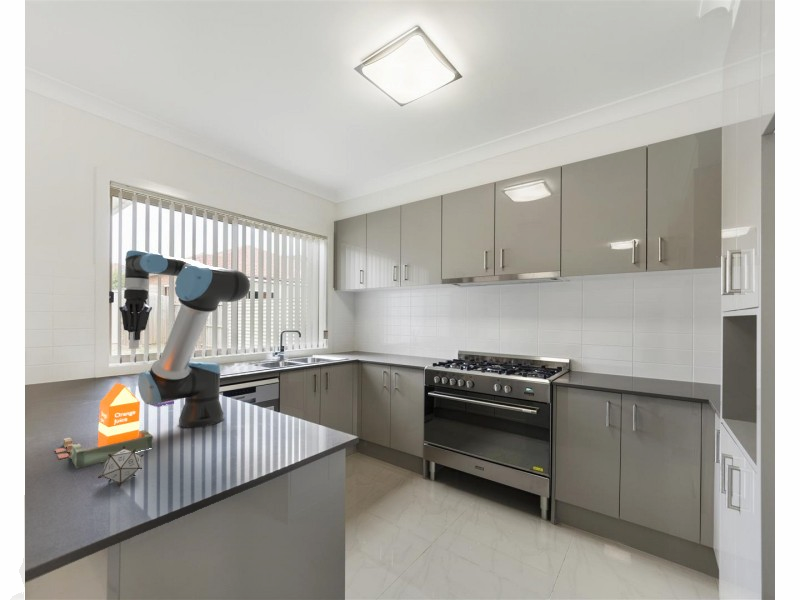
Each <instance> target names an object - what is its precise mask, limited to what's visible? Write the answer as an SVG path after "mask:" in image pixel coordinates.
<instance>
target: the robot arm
mask: <svg viewBox="0 0 800 600" xmlns="http://www.w3.org/2000/svg"><path fill="white" fill-rule="evenodd" d="M125 254H126V255H125V269H124V271H125V272H124V286H123V287H124V288H125V289H124V291H123V298H124V299H125V303H124V305H122V306H119V311H120V312H121V313H120V314H121V319H122V326H123V331H127V332H128V341H129V342H128V350H130V349H131V350H134V349H140V347H139V346H140V340H141V332H143V331H146V329H147V326H148V325H147V324H148V321H149V317H150V313H151V311H152V310H153V307H152V306H149V305H148V304H147V300H148V298H149V291H148V289H149V282H150V281H149V280H150V279H149V278H150V276H149V275H151V274H152V275H162V276H164V275H165V276H173V277H176V279H175V283H174V284H175V287H174V292H175V295H176V296H177V298H178V302H179V303H180V304H181V305H180V308H179V310H178V312H177V315H176V318H175V320H174V323H173V325H172V328H171V330H170V333H169V335H168V338H167V341H166V344H165V346H164V348H163V351H162V353H161V356H160V358H159V359H157V360H155V361H154V362H152V364H151V367H150V370H144V371H143V372H141V373H140V374H139V376H138V380H137V387H138V392H139V395H140V397H141V399H142V401H143V402H144V403H145V404H146V405H151V404H158V403H159V404H160V403H163V402H168V401H173V400H174V401H177V400H182V399H184V404H183V408H182V409H181V412H180V415H179V417H178V426H179V425H180V426H179V427H184V428H199V427H200V426H201V427H205V426H206V427H207V426H211V425H214V424H218V423H220V422H221V421H223V420H224V414H225V413H224V411H223V408H222V404H221V401H220V385H221V384H220V382H221V380H220V379H221V367H220V364H218V363H217V362H208V361H190V360H191V358H192V355H193V354H194V350H195V349H196V346H197V344H198V341H199V339H200V336H201V334H202V332H203V329H204V327H205V325H206V323H207V320H208V318H209V315H210V313H213V312H215V311H216V310H218V306H219V303H233V302H238V301H240V300H242V299H245V297H246V296H247V295H248V294H249V291H250V288H251V282H250V280H249V277H248V276H247V275H246V274H245V273H244V272H242V271H239V270H236V269H233V268H224V267H216V266H210V265H206V264H203V263H201V262H200V261H197V260H194V259H186V258H185V259H184V258H179V257H178V258H177V257H173V256H166V255H163V254H160V253H158V252H156V253H155V252H150V253H149V252H148V251H144V250H138V249H137V250H135V249H134V250H131V249H130V250H127V251H126V253H125Z"/></svg>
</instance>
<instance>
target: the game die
mask: <svg viewBox="0 0 800 600" xmlns="http://www.w3.org/2000/svg"><path fill="white" fill-rule="evenodd" d="M135 451H136V449H134V450H133V451H130V450H127V449H125V446H123V449H122V450H121V451H119V452H117V453H115V454H113V455H111V454H108V456H110V457H109V458H108V460H107V461H103V462H100V463H101V464H102V465H104V466H103V470H102V472H101V474H100V475H98V477H97V479H100V478H105V479H108V483H111V482H112V481H113V482H115V483H118V487H119V488H120V486H121V487H122V483H124V482H125V481H127V480H128V479H130V478H131V477H133V476H137V475H136V473H137V472H138V471H140V470H143V469H144V468H143V467H142V466H141V459H142V457H144V456H145V454H144V453H142V454H141V455H140V454H138V453H135Z"/></svg>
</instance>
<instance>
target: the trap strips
mask: <svg viewBox="0 0 800 600" xmlns="http://www.w3.org/2000/svg"><path fill="white" fill-rule="evenodd" d="M54 451H56V452H55V453H57V458H58V460H63V459H67V457H68V458H70V454H69V453H67V449H66V448H65V447H61V448H56V449H55V448H54ZM63 451H66V452H63ZM60 452H62V453H60Z"/></svg>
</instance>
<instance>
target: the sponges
mask: <svg viewBox="0 0 800 600" xmlns="http://www.w3.org/2000/svg"><path fill="white" fill-rule="evenodd" d="M172 403H173V404H175V400H173V401H168V402H163V403H160V404H159V403H158V404H150V405H152V406H154V405H155V406H154V407H157V406H159V407H162V406H161V405H164V406H167V405H166V404H169V405H172Z"/></svg>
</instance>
